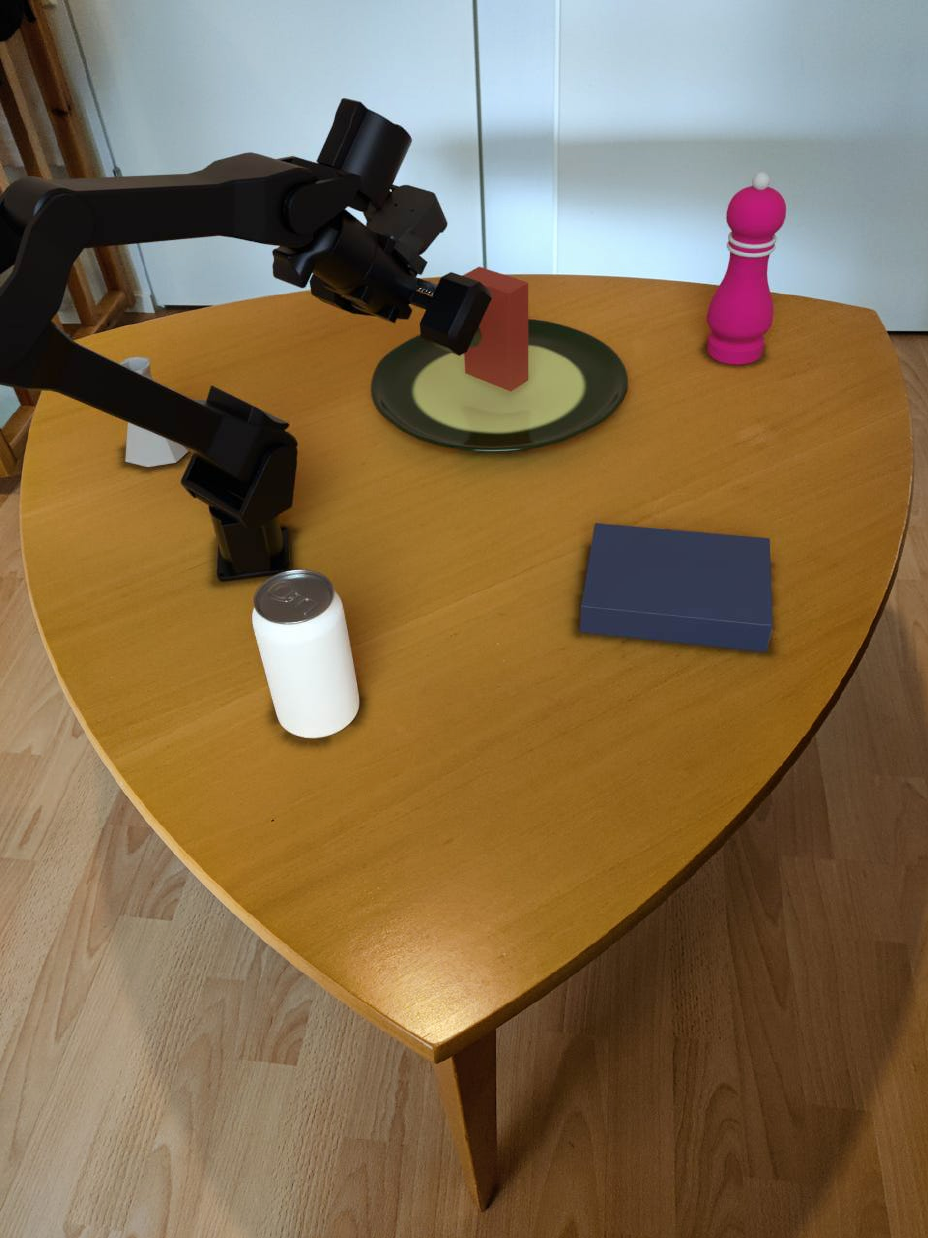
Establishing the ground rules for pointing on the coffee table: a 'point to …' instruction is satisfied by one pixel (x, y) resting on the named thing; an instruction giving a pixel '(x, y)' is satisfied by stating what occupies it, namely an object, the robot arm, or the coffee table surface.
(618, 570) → the navy hardcover
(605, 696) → the coffee table surface
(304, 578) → the can
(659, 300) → the coffee table surface
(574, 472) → the coffee table surface
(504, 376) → the red rectangular block
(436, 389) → the plate
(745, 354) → the pepper mill
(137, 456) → the flask
